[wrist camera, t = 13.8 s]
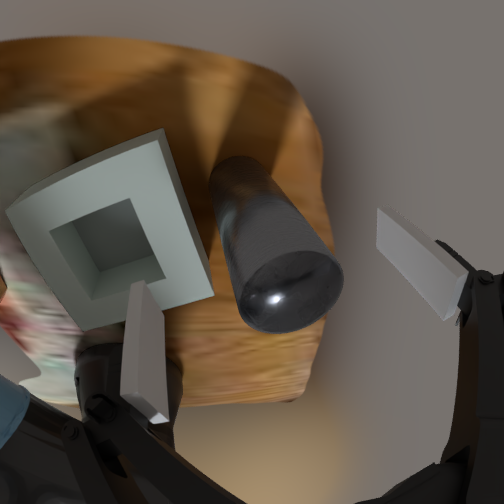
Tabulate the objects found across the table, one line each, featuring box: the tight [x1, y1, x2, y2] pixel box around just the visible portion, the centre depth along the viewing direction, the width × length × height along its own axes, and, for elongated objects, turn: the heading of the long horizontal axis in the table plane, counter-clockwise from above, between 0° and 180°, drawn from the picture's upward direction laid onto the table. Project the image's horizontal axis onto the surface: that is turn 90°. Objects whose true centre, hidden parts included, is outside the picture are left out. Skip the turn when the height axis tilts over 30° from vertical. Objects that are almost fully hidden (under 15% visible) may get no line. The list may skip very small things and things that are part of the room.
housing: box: [5, 128, 214, 331], centre depth 22 cm, size 13×13×5 cm
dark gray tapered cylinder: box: [209, 156, 344, 334], centre depth 19 cm, size 5×5×14 cm
